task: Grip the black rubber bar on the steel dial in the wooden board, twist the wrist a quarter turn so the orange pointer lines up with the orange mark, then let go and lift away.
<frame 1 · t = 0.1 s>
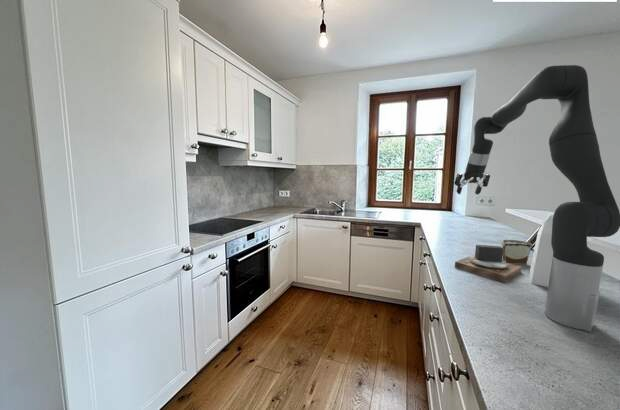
hand: (467, 193, 120), 31 cm above the countertop, tool tilted 20°, fingers open, 8 cm apart
wooden board: (486, 269, 104), on the countertop
dial: (488, 254, 103), point 7 cm above the countertop, hinge at 0.0°
food container: (511, 262, 115), on the countertop
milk: (551, 283, 92), on the countertop
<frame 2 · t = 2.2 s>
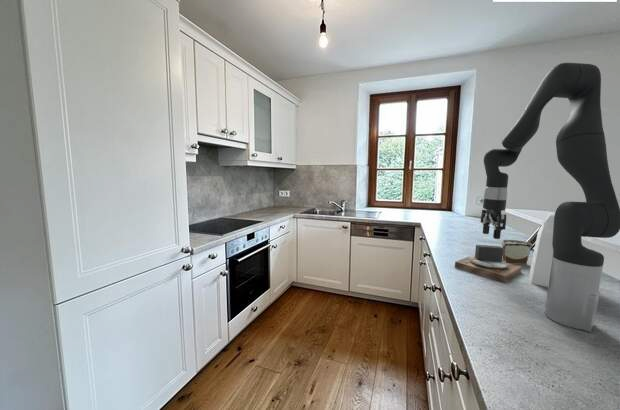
hand: (490, 236, 102), 15 cm above the countertop, tool pointing down, fingers open, 8 cm apart
nothing on the countertop moved.
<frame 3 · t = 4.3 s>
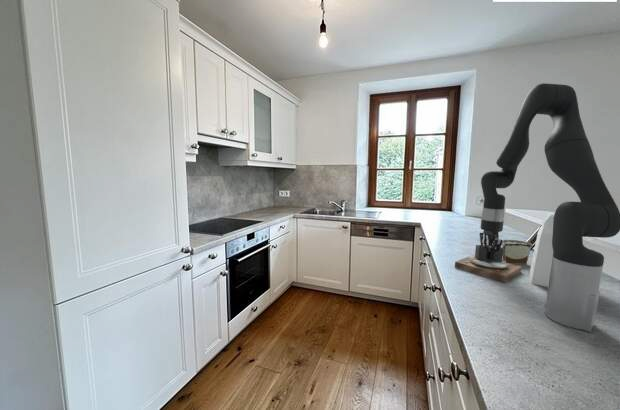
hand: (488, 258, 104), 5 cm above the countertop, tool pointing down, fingers closed on dial, 3 cm apart
dial: (488, 254, 103), point 7 cm above the countertop, hinge at 0.0°, touching gripper
everything else where it was.
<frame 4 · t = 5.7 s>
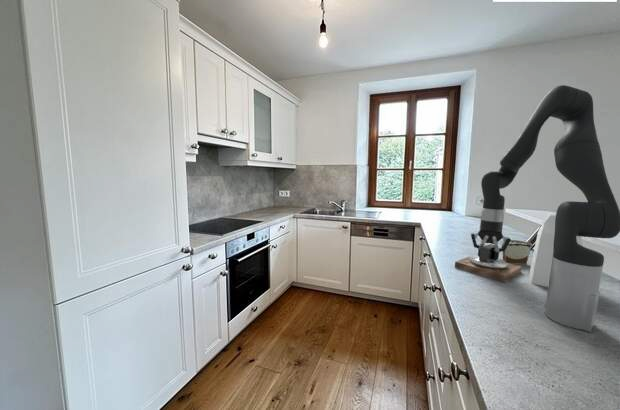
hand: (487, 258, 103), 5 cm above the countertop, tool pointing down, fingers closed on dial, 4 cm apart
dial: (488, 254, 103), point 7 cm above the countertop, hinge at 42.5°, touching gripper
everything else where it was.
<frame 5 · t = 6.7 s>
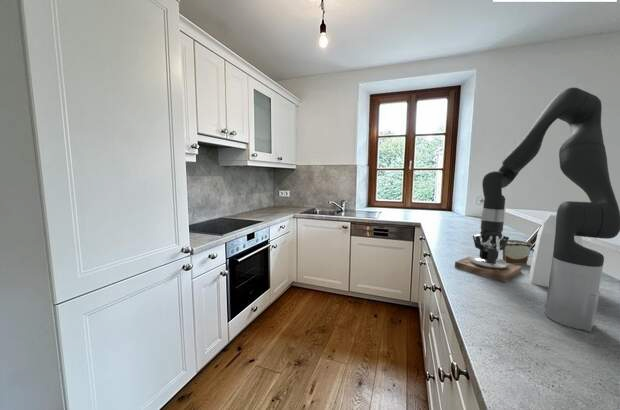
hand: (488, 258, 103), 5 cm above the countertop, tool pointing down, fingers closed on dial, 4 cm apart
dial: (488, 254, 103), point 7 cm above the countertop, hinge at 78.2°, touching gripper
everything else where it was.
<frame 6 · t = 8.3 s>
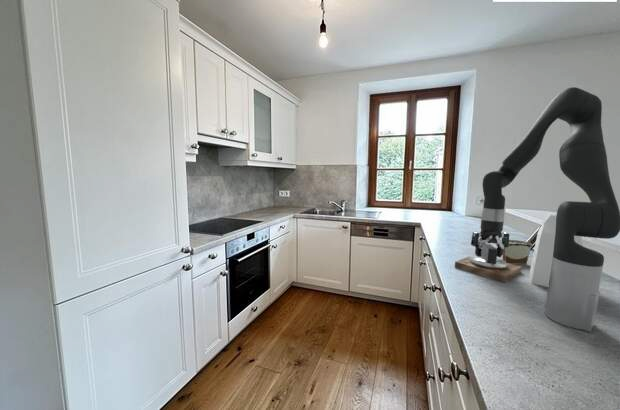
hand: (488, 256, 103), 6 cm above the countertop, tool pointing down, fingers open, 8 cm apart
dial: (488, 254, 103), point 7 cm above the countertop, hinge at 79.7°
everything else where it was.
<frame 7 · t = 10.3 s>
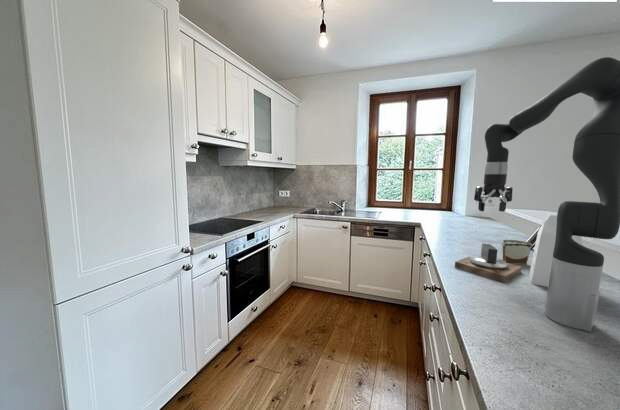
hand: (491, 211, 104), 25 cm above the countertop, tool pointing down, fingers open, 8 cm apart
nothing on the countertop moved.
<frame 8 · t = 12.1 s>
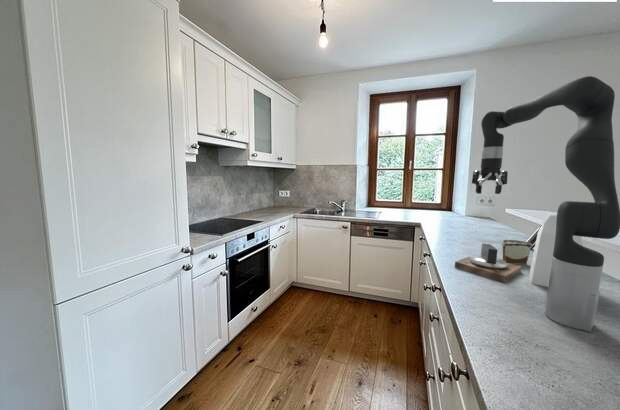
hand: (488, 193, 111), 32 cm above the countertop, tool pointing down, fingers open, 8 cm apart
nothing on the countertop moved.
at the end: dial at +80° (first picture: +0°); the gripper is holding nothing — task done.
